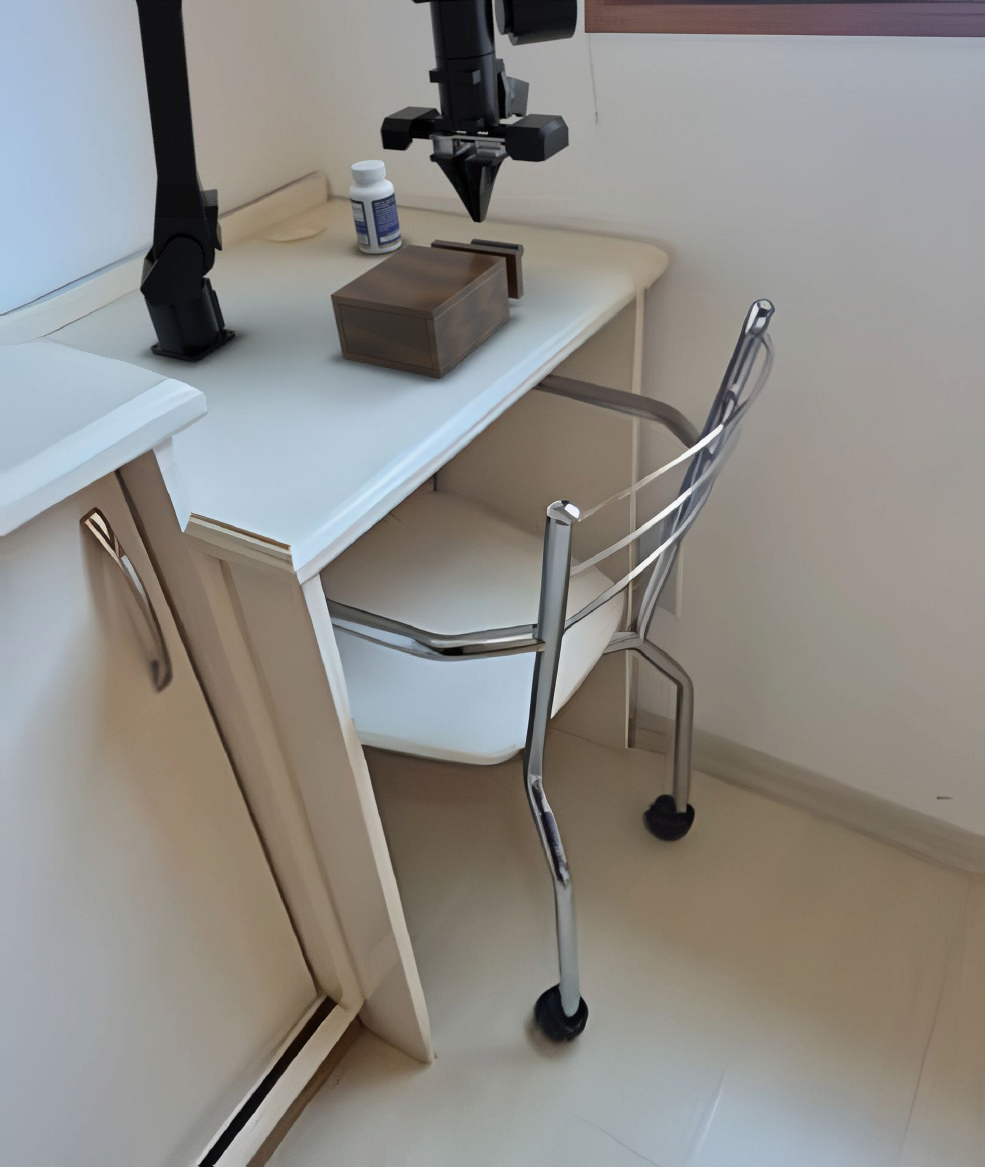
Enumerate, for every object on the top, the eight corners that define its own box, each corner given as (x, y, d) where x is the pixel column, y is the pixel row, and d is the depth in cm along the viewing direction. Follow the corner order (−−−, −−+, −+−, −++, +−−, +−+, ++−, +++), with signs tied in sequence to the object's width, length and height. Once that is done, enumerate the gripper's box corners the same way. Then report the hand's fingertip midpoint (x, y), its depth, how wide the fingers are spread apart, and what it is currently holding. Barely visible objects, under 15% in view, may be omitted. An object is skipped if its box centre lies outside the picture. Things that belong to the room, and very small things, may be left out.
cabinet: (417, 304, 101) (409, 244, 97) (510, 320, 96) (505, 257, 92) (342, 358, 93) (330, 294, 88) (440, 378, 88) (432, 312, 83)
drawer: (462, 267, 106) (458, 225, 103) (543, 279, 102) (541, 235, 99) (376, 329, 95) (369, 283, 92) (463, 345, 91) (458, 297, 88)
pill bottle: (405, 238, 117) (394, 156, 111) (398, 254, 113) (385, 170, 107) (363, 240, 118) (350, 159, 112) (355, 256, 114) (340, 172, 108)
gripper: (592, 36, 88) (593, 204, 98) (428, 33, 96) (445, 189, 106) (538, 63, 81) (545, 241, 91) (365, 57, 89) (389, 222, 99)
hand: (479, 221), depth 97 cm, fingers closed
